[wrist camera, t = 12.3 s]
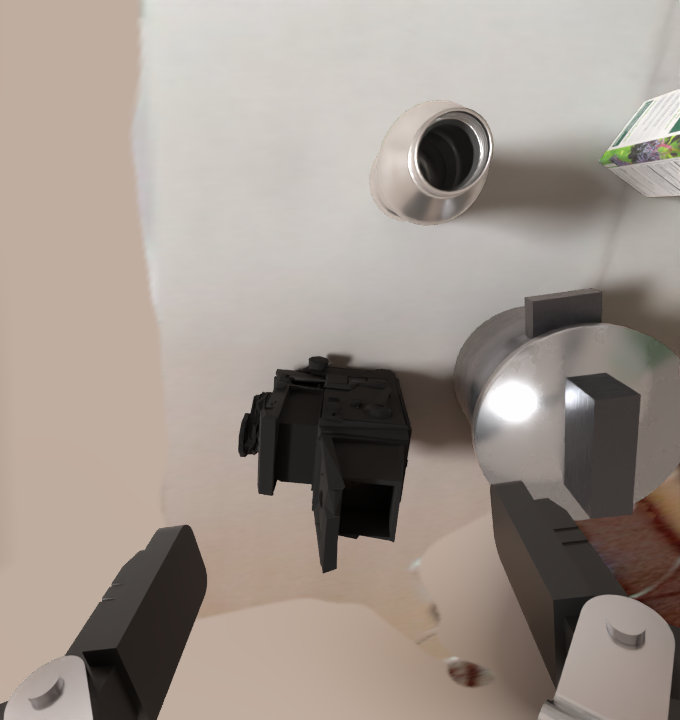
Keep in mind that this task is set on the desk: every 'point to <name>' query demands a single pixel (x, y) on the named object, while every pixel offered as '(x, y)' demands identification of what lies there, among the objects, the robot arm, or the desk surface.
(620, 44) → the desk surface
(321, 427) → the camera
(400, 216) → the plastic bottle
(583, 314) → the pot
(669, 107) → the syrup box
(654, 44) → the desk surface
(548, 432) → the lid
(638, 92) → the desk surface
